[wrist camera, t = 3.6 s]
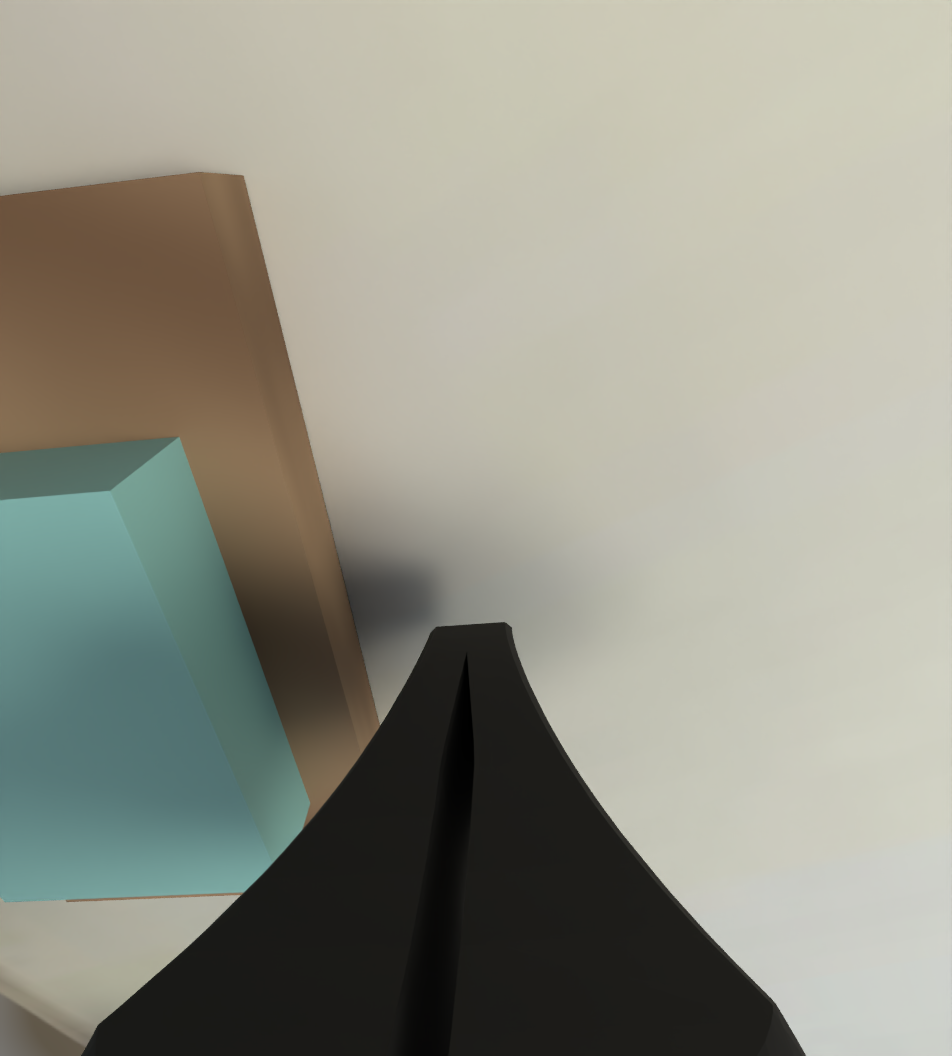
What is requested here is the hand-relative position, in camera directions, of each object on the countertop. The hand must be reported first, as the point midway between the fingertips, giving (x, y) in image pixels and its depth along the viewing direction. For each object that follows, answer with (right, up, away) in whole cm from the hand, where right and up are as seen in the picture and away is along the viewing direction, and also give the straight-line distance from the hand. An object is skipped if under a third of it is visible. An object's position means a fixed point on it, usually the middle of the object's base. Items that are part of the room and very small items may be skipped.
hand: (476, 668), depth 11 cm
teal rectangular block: (-7, 0, +1) cm, 7 cm away
